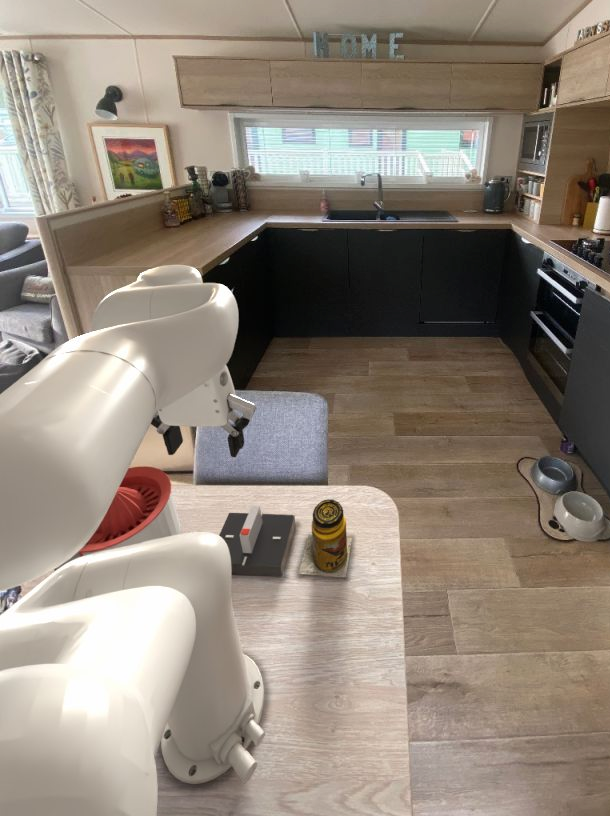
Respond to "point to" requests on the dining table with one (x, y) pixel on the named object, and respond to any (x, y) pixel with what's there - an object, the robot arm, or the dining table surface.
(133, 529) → the citrus juicer
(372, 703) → the dining table surface
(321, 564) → the condiment
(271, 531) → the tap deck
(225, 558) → the robot arm
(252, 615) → the dining table surface
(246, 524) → the tap handle
